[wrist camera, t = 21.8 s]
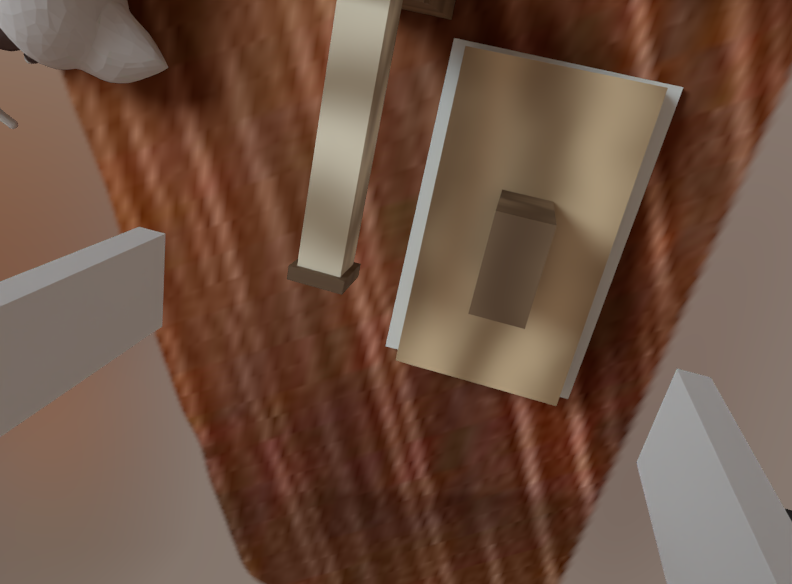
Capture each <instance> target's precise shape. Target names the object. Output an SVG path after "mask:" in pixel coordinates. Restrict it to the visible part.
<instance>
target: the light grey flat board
mask: <svg viewBox="0 0 792 584" xmlns="http://www.w3.org/2000/svg"><path fill="white" fill-rule="evenodd" d="M465 46H469V47H473V48H478V49H483V50H488V51H493V52H498V53H502V54H507V55H512V56H517V57H522V58H526V59H531V60H536V61H541V62H546V63H551V64H555V65H560V66H565V67H570V68H575V69H580V70H584V71H589V72H594V73H599V74H604V75H609V76H613V77H618V78H623V79H628V80H633V81H637V82H642V83H647V84H652V85H657V86H662V87H666V88H668V89H667V92H666V95H665V98H664V101H663V103H662V106H661V109H660V112H659V115H658V118H657V121H656V123H655V126H654V129H653V132H652V135H651V138H650V141H649V143H648V146H647V149H646V152H645V155H644V158H643V160H642V163H641V166H640V169H639V172H638V175H637V178H636V180H635V183H634V186H633V189H632V192H631V195H630V198H629V200H628V203H627V206H626V209H625V212H624V215H623V217H622V220H621V223H620V226H619V229H618V232H617V235H616V237H615V240H614V243H613V246H612V249H611V252H610V255H609V257H608V260H607V263H606V266H605V269H604V272H603V275H602V277H601V280H600V283H599V286H598V289H597V292H596V294H595V297H594V300H593V303H592V306H591V309H590V312H589V314H588V317H587V320H586V323H585V326H584V329H583V332H582V334H581V337H580V340H579V343H578V346H577V349H576V351H575V354H574V357H573V360H572V363H571V366H570V369H569V371H568V374H567V377H566V380H565V383H564V386H563V389H562V391H561V394H560V397H562V398H566V399H568V398H569V396H570V393H571V390H572V388H573V385H574V382H575V379H576V377H577V374H578V371H579V369H580V366H581V363H582V361H583V358H584V355H585V352H586V350H587V347H588V344H589V342H590V339H591V336H592V333H593V331H594V328H595V325H596V323H597V320H598V317H599V315H600V312H601V309H602V306H603V304H604V301H605V298H606V296H607V293H608V290H609V287H610V285H611V282H612V279H613V277H614V274H615V271H616V268H617V266H618V263H619V260H620V258H621V255H622V252H623V250H624V247H625V244H626V241H627V239H628V236H629V233H630V231H631V228H632V225H633V222H634V220H635V217H636V214H637V212H638V209H639V206H640V204H641V201H642V198H643V195H644V193H645V190H646V187H647V185H648V182H649V179H650V176H651V174H652V171H653V168H654V166H655V163H656V160H657V158H658V155H659V152H660V149H661V147H662V144H663V141H664V139H665V136H666V133H667V130H668V128H669V125H670V122H671V120H672V117H673V114H674V112H675V109H676V106H677V103H678V101H679V98H680V95H681V93H682V90H683V87H679V86H674V85H670V84H665V83H661V82H656V81H651V80H647V79H642V78H637V77H633V76H628V75H624V74H619V73H614V72H610V71H605V70H600V69H596V68H591V67H587V66H582V65H577V64H573V63H568V62H563V61H559V60H554V59H550V58H545V57H540V56H536V55H531V54H526V53H522V52H517V51H513V50H508V49H503V48H499V47H494V46H489V45H485V44H480V43H476V42H471V41H466V40H462V39H457V38H454V41H453V45H452V50H451V54H450V59H449V63H448V68H447V72H446V77H445V81H444V86H443V90H442V95H441V99H440V104H439V108H438V113H437V117H436V122H435V126H434V131H433V135H432V140H431V144H430V149H429V153H428V158H427V162H426V167H425V171H424V176H423V180H422V185H421V189H420V194H419V198H418V203H417V207H416V212H415V216H414V220H413V225H412V229H411V234H410V238H409V243H408V247H407V252H406V256H405V261H404V265H403V270H402V274H401V279H400V283H399V288H398V292H397V297H396V301H395V306H394V310H393V315H392V319H391V324H390V328H389V333H388V337H387V342H386V346H387V347H391V348H394V349H397V350H398V347H399V343H400V338H401V334H402V329H403V325H404V320H405V316H406V311H407V307H408V302H409V298H410V293H411V289H412V284H413V280H414V275H415V271H416V266H417V262H418V257H419V253H420V248H421V244H422V239H423V235H424V230H425V226H426V221H427V217H428V212H429V208H430V203H431V199H432V194H433V190H434V185H435V180H436V176H437V171H438V167H439V162H440V158H441V153H442V149H443V144H444V140H445V135H446V131H447V126H448V122H449V117H450V113H451V108H452V104H453V99H454V95H455V90H456V86H457V81H458V77H459V72H460V68H461V63H462V59H463V54H464V50H465Z"/></svg>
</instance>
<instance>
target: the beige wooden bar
mask: <svg viewBox="0 0 792 584" xmlns="http://www.w3.org/2000/svg"><path fill="white" fill-rule="evenodd" d="M402 3H403V0H337V3H336V10H335V17H334V23H333V30H332V37H331V43H330V50H329V57H328V63H327V70H326V77H325V83H324V90H323V97H322V103H321V110H320V117H319V124H318V130H317V137H316V144H315V150H314V157H313V164H312V170H311V177H310V184H309V190H308V197H307V204H306V210H305V217H304V224H303V230H302V237H301V244H300V250H299V257H298V259H297V260H296V261H294V262H293V263H292V264H290V265H289V268H288V275H287V279H288V280H292V281H295V282H299V283H302V284H306V285H310V286H313V287H317V288H320V289H324V290H327V291H331V292H334V293H338V294H341V295H342V294H343V293H344V292H345V291H346V289H347V288H348V287H349V286H350V285H351V284H352V283H353V282H354V281H355V280H356V278H357V277H358V275H359V270H360V265H361V264H359V263H355V262H354V258H355V252H356V247H357V242H358V236H359V231H360V226H361V220H362V215H363V210H364V205H365V199H366V194H367V189H368V183H369V178H370V173H371V167H372V162H373V157H374V151H375V146H376V141H377V135H378V130H379V125H380V119H381V114H382V109H383V104H384V98H385V93H386V88H387V82H388V77H389V72H390V66H391V61H392V56H393V50H394V45H395V40H396V34H397V29H398V24H399V18H400V13H401V8H402Z"/></svg>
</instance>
